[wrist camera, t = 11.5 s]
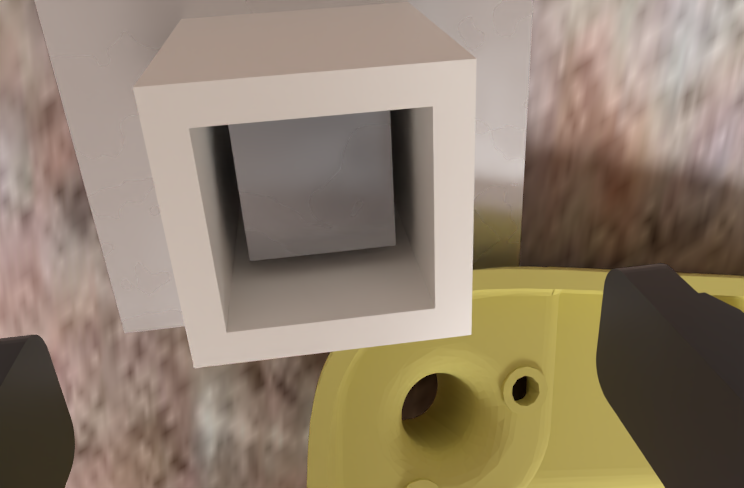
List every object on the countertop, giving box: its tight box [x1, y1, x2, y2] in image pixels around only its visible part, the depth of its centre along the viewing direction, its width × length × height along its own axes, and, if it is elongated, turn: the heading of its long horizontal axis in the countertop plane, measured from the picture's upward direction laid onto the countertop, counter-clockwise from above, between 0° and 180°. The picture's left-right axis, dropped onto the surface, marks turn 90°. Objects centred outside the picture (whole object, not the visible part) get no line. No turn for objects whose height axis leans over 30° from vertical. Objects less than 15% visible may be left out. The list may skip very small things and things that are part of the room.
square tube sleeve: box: [133, 2, 477, 368], centre depth 16 cm, size 6×6×7 cm
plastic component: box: [307, 267, 744, 488], centre depth 25 cm, size 20×7×10 cm
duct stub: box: [34, 0, 533, 333], centre depth 18 cm, size 13×13×6 cm
